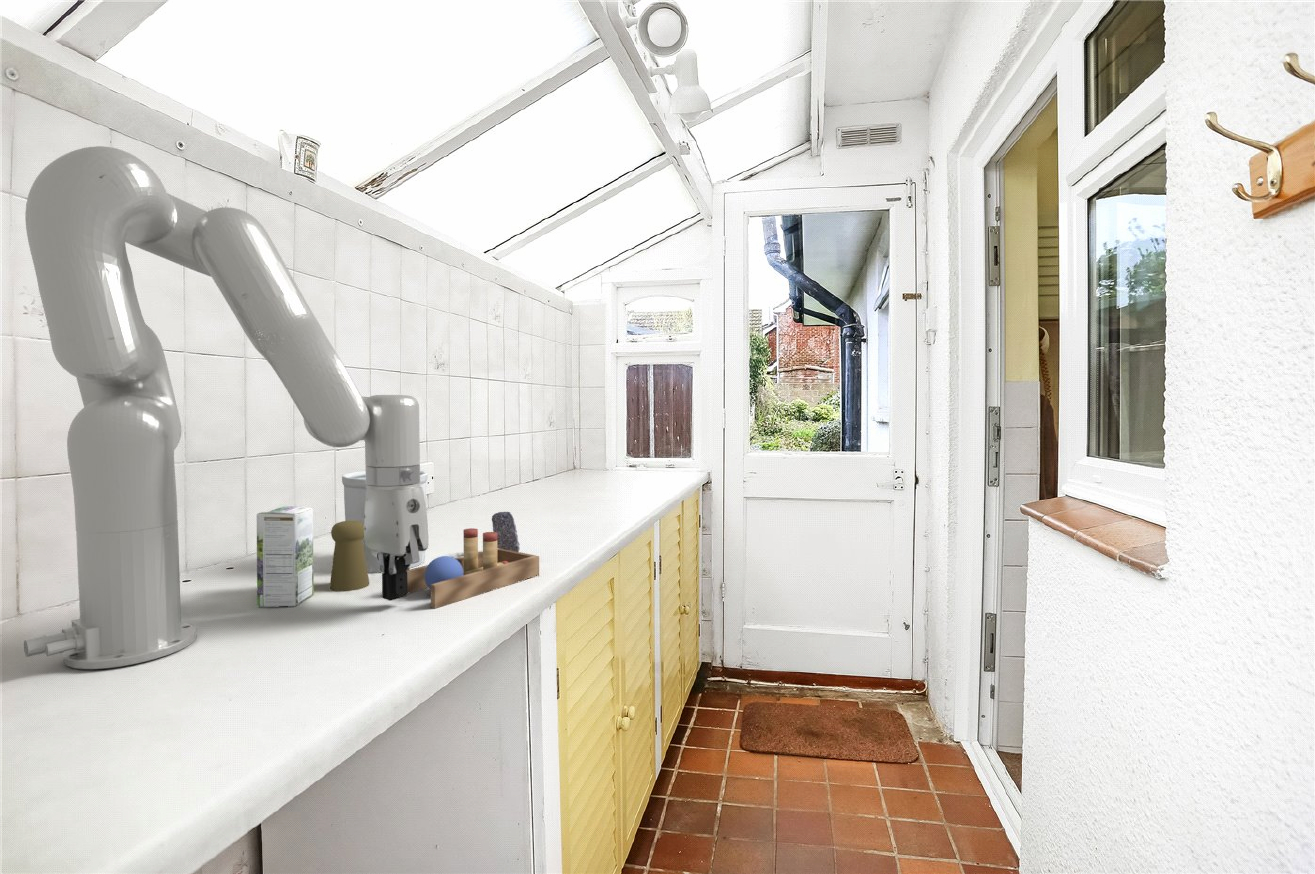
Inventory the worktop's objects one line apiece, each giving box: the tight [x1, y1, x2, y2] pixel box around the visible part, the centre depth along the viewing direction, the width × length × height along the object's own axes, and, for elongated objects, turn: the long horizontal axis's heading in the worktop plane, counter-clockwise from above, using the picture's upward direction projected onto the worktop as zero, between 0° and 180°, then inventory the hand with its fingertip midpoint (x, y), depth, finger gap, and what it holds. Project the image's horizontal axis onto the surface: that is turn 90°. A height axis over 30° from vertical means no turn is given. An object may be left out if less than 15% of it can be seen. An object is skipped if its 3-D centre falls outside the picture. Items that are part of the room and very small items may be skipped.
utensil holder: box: [341, 469, 428, 574], centre depth 118 cm, size 15×15×18 cm
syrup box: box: [256, 505, 314, 608], centre depth 95 cm, size 6×6×14 cm
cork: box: [329, 520, 370, 592], centre depth 103 cm, size 6×6×11 cm
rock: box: [491, 511, 521, 552], centre depth 123 cm, size 12×5×10 cm, turn 20°
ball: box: [424, 555, 463, 590], centre depth 100 cm, size 6×6×6 cm
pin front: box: [463, 561, 509, 575], centre depth 108 cm, size 2×2×9 cm
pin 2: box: [482, 531, 497, 570], centre depth 105 cm, size 2×2×9 cm
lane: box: [407, 548, 540, 609], centre depth 105 cm, size 22×11×4 cm, turn 146°
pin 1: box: [462, 527, 479, 572], centre depth 108 cm, size 2×2×9 cm
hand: (395, 597), depth 93 cm, fingers closed
